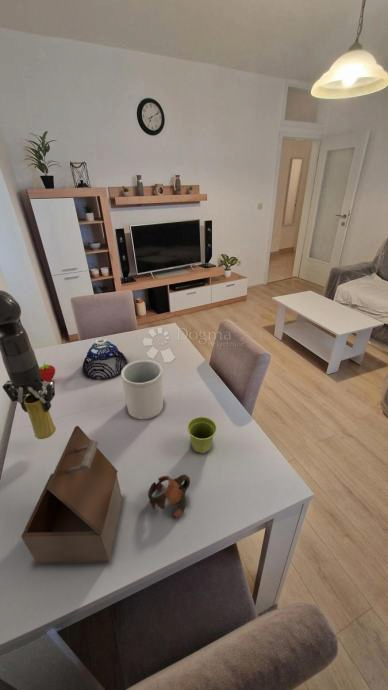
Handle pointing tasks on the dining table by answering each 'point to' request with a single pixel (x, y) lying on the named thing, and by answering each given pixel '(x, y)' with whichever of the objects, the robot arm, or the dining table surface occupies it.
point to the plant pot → (201, 433)
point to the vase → (39, 417)
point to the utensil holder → (143, 388)
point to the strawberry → (47, 372)
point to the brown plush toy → (170, 493)
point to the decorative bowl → (100, 355)
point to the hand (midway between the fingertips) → (37, 409)
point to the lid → (84, 480)
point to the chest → (69, 531)
